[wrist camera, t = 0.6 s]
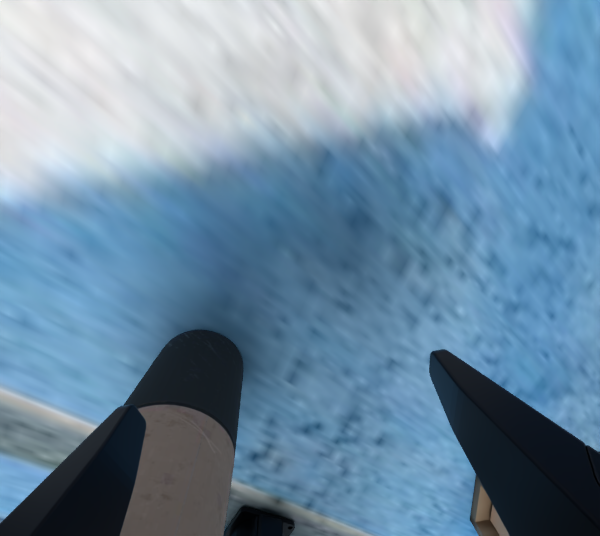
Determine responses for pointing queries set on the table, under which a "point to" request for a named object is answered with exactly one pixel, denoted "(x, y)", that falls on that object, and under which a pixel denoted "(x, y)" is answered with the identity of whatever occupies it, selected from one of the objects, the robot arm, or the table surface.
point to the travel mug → (186, 438)
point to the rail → (482, 511)
